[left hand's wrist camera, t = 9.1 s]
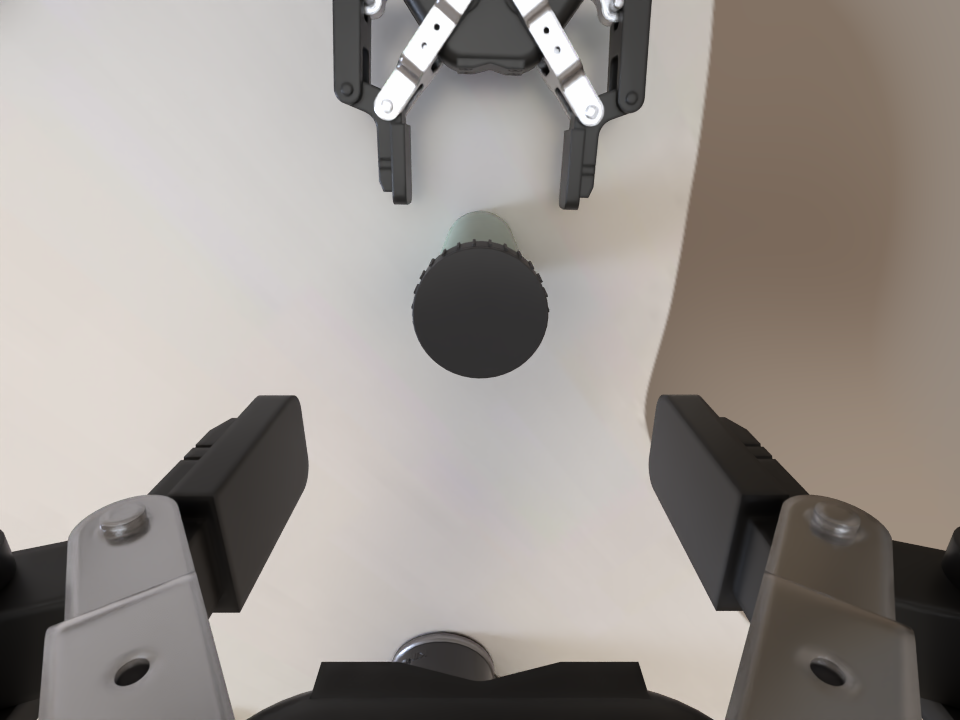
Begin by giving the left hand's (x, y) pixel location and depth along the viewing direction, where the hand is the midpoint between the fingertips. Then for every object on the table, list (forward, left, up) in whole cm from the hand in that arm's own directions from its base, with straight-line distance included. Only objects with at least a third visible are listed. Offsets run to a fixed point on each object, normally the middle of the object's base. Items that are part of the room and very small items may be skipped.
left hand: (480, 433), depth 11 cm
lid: (0, 0, -9) cm, 9 cm away
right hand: (+2, -2, -18) cm, 18 cm away
